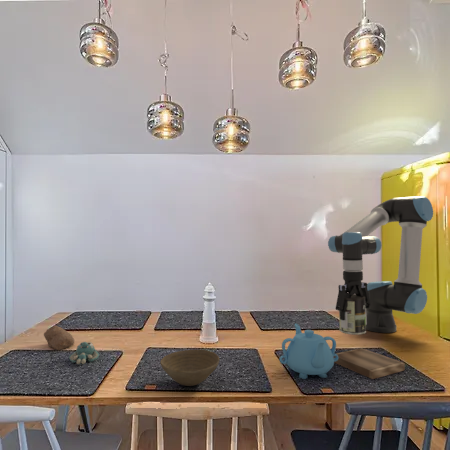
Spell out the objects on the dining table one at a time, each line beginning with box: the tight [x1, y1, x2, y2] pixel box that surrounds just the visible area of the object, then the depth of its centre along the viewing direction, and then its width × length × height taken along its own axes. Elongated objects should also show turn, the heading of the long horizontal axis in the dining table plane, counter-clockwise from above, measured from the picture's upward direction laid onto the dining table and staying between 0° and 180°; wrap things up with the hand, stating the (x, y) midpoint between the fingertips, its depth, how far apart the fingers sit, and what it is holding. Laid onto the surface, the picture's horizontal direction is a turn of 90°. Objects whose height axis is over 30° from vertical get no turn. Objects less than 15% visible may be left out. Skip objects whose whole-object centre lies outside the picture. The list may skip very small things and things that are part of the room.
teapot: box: [279, 323, 338, 380], centre depth 122 cm, size 16×20×14 cm
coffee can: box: [338, 294, 367, 336], centre depth 145 cm, size 10×10×14 cm
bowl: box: [159, 349, 220, 387], centre depth 112 cm, size 18×18×8 cm
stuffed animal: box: [68, 341, 100, 365], centre depth 132 cm, size 11×7×12 cm
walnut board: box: [333, 347, 406, 380], centre depth 127 cm, size 16×18×2 cm
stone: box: [43, 325, 75, 351], centre depth 149 cm, size 12×9×10 cm
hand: (354, 325), depth 145 cm, fingers closed on coffee can, 10 cm apart
